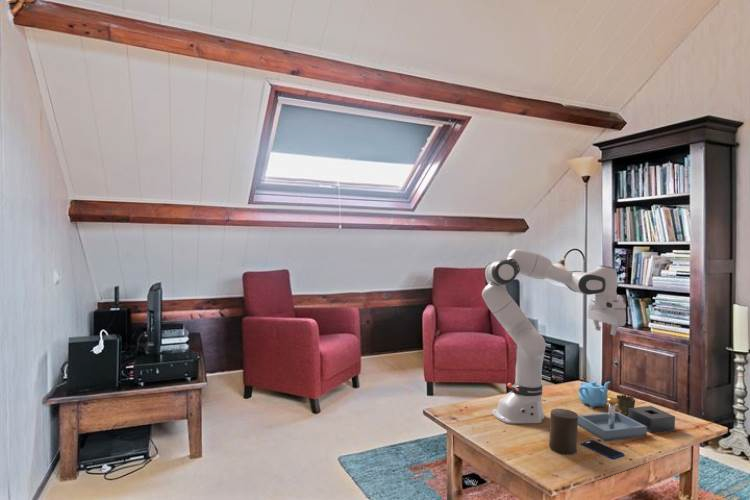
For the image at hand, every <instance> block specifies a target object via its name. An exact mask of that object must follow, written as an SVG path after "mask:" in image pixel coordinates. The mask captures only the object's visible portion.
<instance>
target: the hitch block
mask: <svg viewBox="0 0 750 500" xmlns="http://www.w3.org/2000/svg"><path fill="white" fill-rule="evenodd" d="M627 417H629V418H631V419H633V420H635V421H637V422H639V423H641V424H643V425H645V426H647V433H649V434H657V433H665V432H675V428H676V425H675V424H676V416H675V415H674V414H670V413H668V412H666V411H663V410H661V409H659V408H657V407H655V406H652V405H649V406H634V408H629V411H628V416H627Z"/></svg>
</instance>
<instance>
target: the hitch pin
mask: <svg viewBox="0 0 750 500" xmlns="http://www.w3.org/2000/svg"><path fill="white" fill-rule="evenodd" d="M607 403H608V412H607V413H608V428H609V429H614V424H615V412H616V405H618V404H617V403H618V399H617V397H611V396H610V397H608V398H607Z"/></svg>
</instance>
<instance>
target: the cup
mask: <svg viewBox="0 0 750 500" xmlns="http://www.w3.org/2000/svg"><path fill="white" fill-rule="evenodd" d="M616 399H618V403H617V404H616V405H617V408H618V409H619V410H620V413H621V414H623V415H625V416H627V417H628V411H629V408H635V404H636V398H635V397H633V395H626V394H617V395H616Z"/></svg>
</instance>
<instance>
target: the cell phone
mask: <svg viewBox="0 0 750 500" xmlns="http://www.w3.org/2000/svg"><path fill="white" fill-rule="evenodd" d="M580 445H581V446H582V447H584V448H587V449H589V450H591V451H593V452H596V453H598V454H599V455H601V456H604V457H606V458H609V459H611V460H616V459H620V458H622V457H625V453H623V452H621V451H619V450H617V449H615V448H612V447H610V446H608V445H606V444H603V443H601V442H598V441H597V440H594V439H591V440H587V441H584V442H581V443H580Z"/></svg>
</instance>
